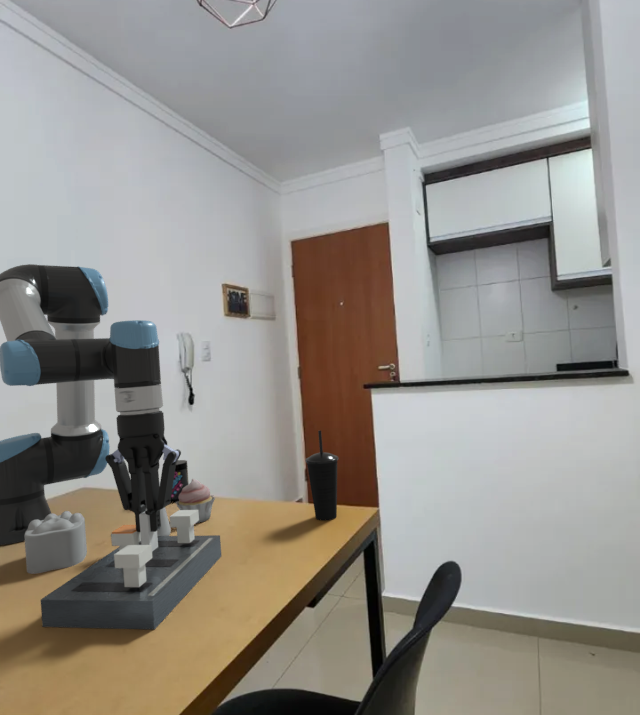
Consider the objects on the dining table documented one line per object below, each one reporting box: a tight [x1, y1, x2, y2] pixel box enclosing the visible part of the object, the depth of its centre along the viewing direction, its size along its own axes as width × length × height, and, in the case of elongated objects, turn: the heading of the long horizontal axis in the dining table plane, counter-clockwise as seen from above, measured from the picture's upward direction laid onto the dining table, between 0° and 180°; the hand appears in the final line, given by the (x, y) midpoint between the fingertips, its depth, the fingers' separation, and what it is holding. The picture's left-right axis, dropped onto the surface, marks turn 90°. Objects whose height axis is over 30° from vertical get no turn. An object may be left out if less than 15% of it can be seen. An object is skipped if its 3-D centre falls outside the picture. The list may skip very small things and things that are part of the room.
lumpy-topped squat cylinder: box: [24, 510, 88, 575], centre depth 98 cm, size 10×13×9 cm
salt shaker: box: [146, 481, 172, 536], centre depth 101 cm, size 6×6×13 cm
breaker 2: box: [169, 509, 199, 543], centre depth 89 cm, size 4×4×5 cm
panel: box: [40, 534, 222, 630], centre depth 81 cm, size 18×25×4 cm
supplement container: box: [170, 459, 190, 503], centre depth 136 cm, size 7×7×10 cm
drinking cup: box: [304, 430, 339, 522], centre depth 110 cm, size 8×8×20 cm
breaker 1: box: [114, 545, 152, 587], centre depth 72 cm, size 4×4×5 cm
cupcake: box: [174, 478, 216, 524], centre depth 116 cm, size 9×9×10 cm
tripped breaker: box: [110, 524, 141, 551], centre depth 82 cm, size 4×4×6 cm
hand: (150, 549), depth 81 cm, fingers closed
